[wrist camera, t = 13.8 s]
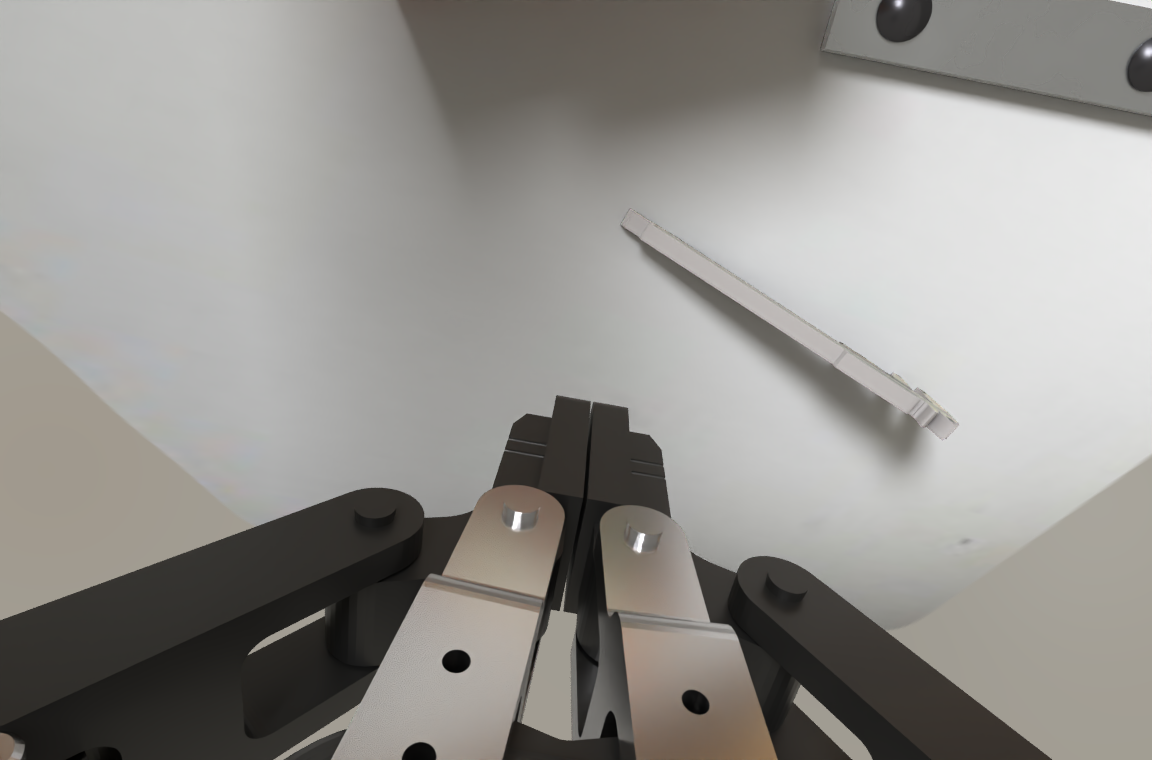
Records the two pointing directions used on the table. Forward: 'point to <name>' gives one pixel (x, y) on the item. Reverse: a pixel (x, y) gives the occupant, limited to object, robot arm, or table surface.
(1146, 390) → the table surface
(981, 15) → the bolt strip
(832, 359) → the caliper
